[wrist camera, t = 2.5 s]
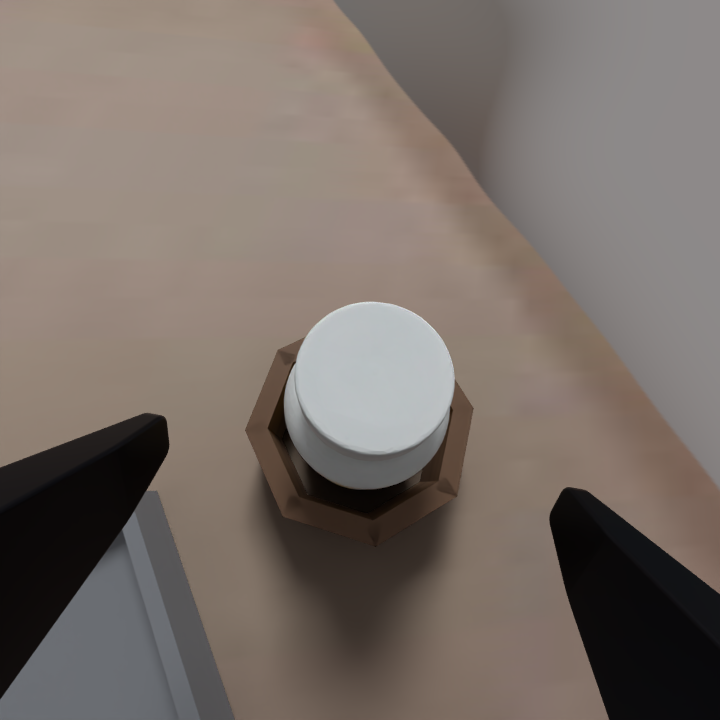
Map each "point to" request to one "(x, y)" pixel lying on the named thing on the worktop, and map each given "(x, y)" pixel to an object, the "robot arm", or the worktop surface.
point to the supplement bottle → (369, 395)
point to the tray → (125, 640)
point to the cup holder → (364, 527)
